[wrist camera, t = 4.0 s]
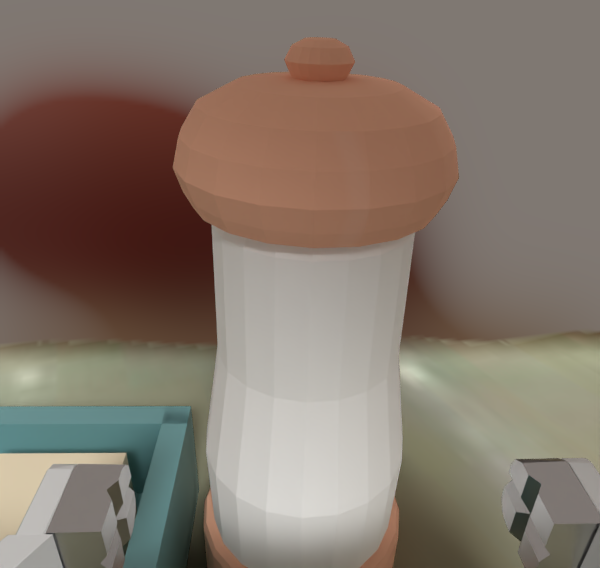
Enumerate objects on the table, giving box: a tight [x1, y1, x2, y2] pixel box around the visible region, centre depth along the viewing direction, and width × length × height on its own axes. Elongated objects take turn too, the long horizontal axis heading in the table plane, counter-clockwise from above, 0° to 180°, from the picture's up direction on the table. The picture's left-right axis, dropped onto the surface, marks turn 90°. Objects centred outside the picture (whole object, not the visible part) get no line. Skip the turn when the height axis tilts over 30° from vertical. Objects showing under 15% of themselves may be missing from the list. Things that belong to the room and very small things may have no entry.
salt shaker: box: [173, 37, 459, 568], centre depth 17 cm, size 7×7×19 cm
